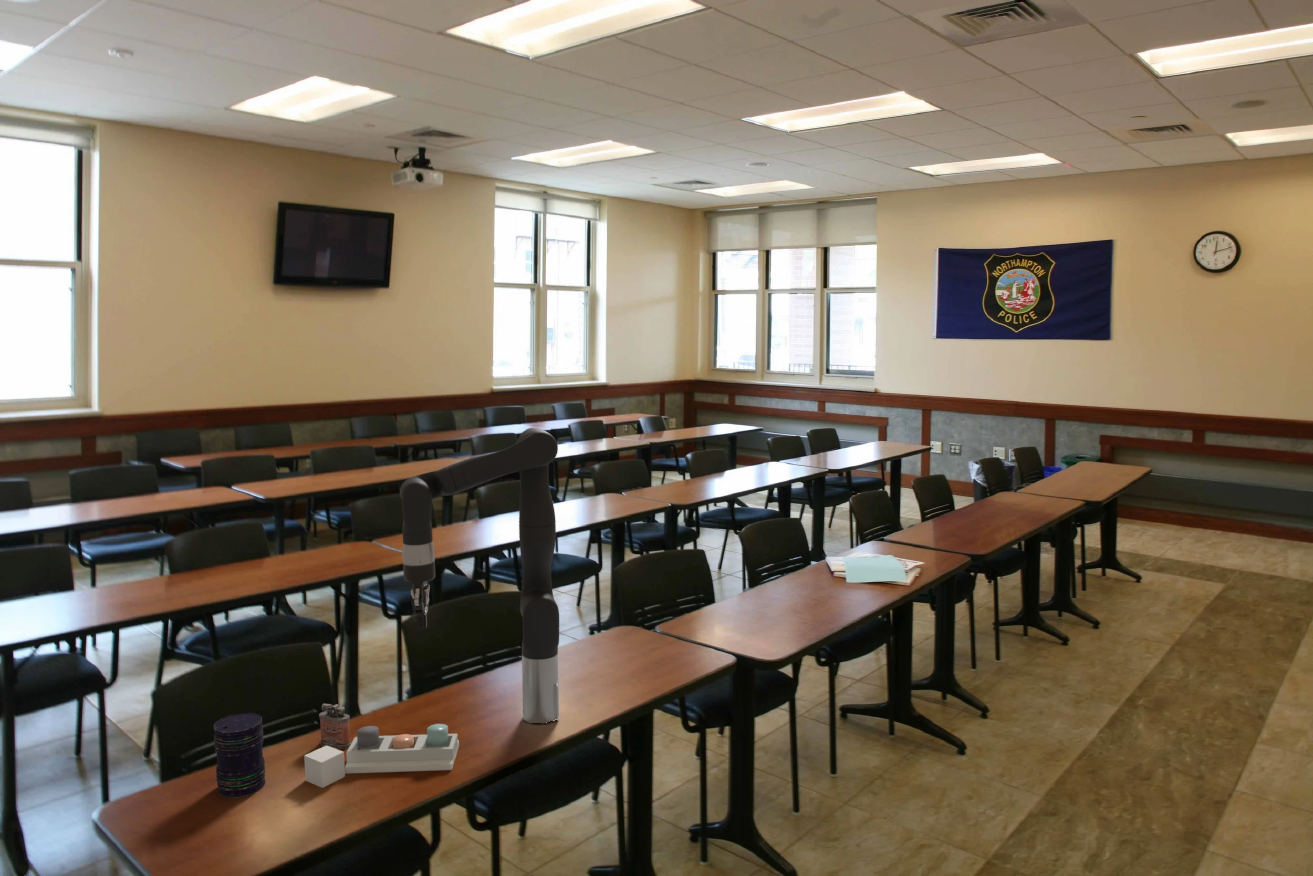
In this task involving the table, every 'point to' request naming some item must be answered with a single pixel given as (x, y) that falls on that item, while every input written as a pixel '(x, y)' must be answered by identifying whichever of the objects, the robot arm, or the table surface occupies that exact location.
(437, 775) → the table surface
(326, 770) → the white cube
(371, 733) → the charcoal button
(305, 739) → the table surface
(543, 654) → the robot arm
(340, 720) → the lighter
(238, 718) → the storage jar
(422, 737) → the button board
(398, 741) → the terracotta button
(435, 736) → the teal button
